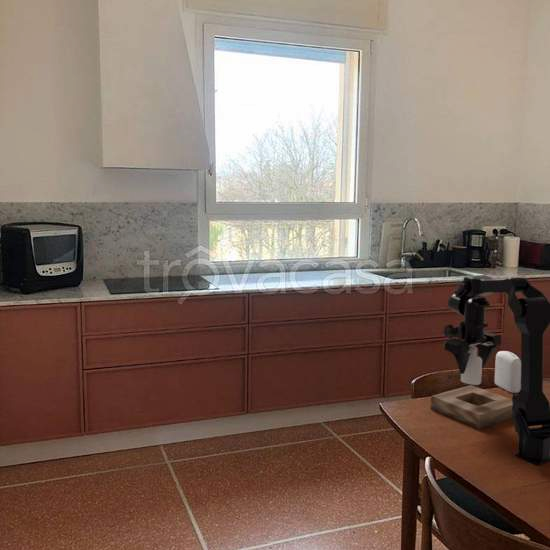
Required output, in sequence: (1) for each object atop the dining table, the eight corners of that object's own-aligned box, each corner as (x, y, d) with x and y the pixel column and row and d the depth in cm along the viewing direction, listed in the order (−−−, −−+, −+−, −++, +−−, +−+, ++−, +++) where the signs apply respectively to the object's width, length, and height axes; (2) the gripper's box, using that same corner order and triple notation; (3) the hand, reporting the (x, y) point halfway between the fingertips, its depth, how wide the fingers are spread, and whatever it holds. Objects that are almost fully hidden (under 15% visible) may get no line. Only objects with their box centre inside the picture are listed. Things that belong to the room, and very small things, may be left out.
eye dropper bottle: (469, 378, 179) (471, 340, 177) (483, 384, 174) (485, 344, 172) (458, 381, 177) (460, 341, 176) (472, 386, 172) (474, 346, 171)
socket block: (519, 415, 176) (520, 402, 175) (479, 428, 166) (480, 415, 166) (470, 397, 191) (470, 385, 190) (430, 408, 181) (431, 395, 181)
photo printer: (492, 383, 203) (494, 348, 202) (503, 382, 204) (505, 347, 202) (510, 394, 194) (512, 357, 192) (522, 393, 194) (524, 356, 193)
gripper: (472, 310, 185) (469, 358, 187) (430, 317, 174) (428, 369, 177) (503, 316, 175) (500, 368, 178) (461, 325, 165) (459, 379, 168)
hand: (471, 370), depth 175 cm, fingers closed on eye dropper bottle, 8 cm apart
